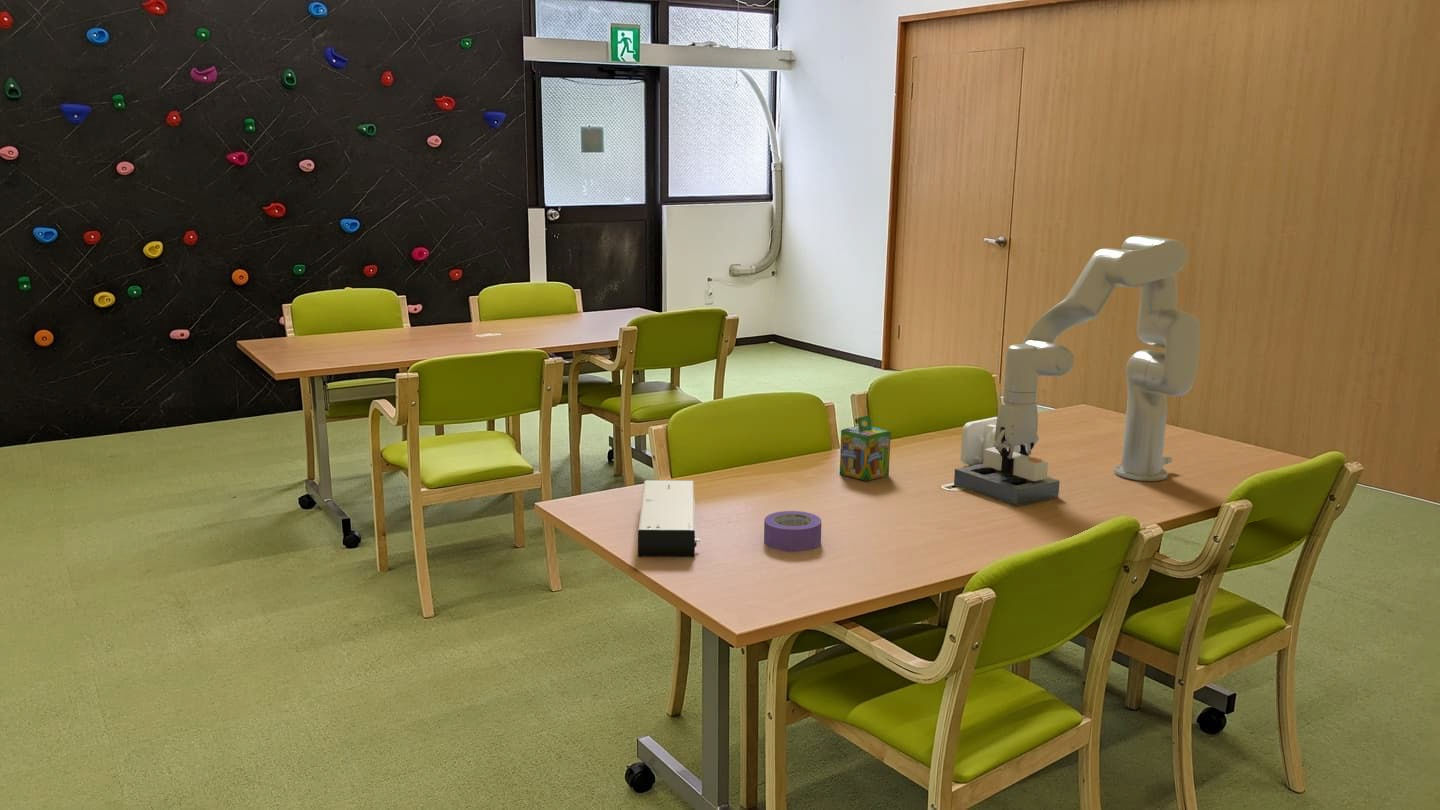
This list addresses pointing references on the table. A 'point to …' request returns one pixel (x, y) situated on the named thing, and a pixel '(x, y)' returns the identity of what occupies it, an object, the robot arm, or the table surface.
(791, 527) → the tape roll
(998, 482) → the grey slotted tray
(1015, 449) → the cable organizer
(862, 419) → the chalk box
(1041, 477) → the white bar with pegs
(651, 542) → the laminator
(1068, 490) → the table surface
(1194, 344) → the robot arm
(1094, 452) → the table surface
